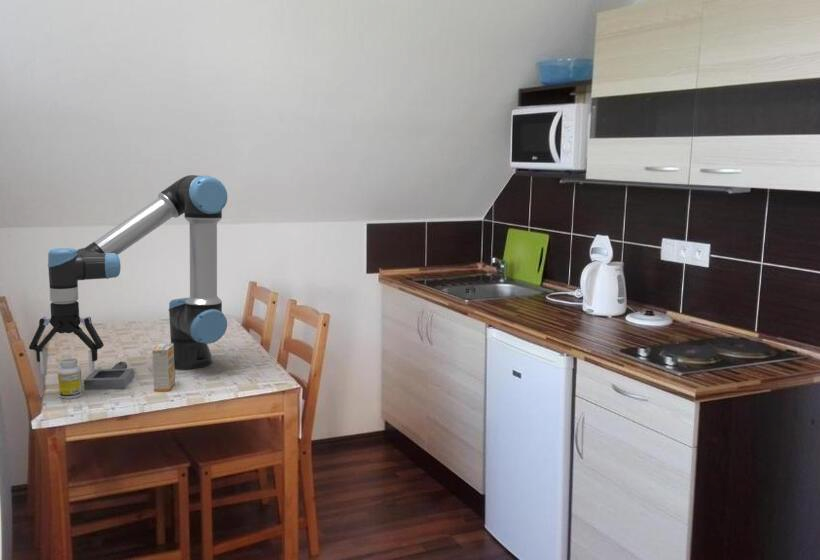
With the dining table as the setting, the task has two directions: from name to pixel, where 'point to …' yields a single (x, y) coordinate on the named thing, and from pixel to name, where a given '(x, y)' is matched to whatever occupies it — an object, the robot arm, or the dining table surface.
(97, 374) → the low gray tray
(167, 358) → the supplement box
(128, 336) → the dining table surface
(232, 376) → the dining table surface
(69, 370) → the pill bottle
